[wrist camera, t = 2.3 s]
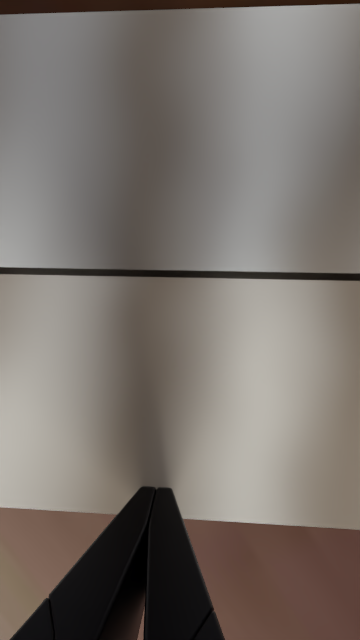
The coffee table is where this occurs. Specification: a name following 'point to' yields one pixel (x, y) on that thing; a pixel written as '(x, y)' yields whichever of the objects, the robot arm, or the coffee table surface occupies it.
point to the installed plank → (181, 143)
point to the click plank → (182, 396)
